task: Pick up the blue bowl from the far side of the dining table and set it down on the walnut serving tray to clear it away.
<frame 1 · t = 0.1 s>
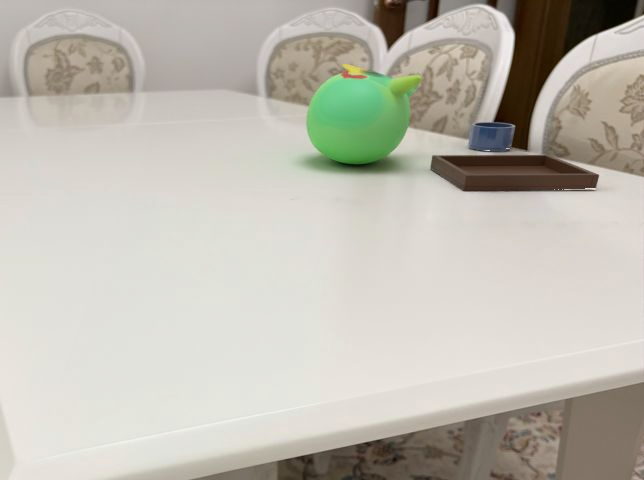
blue bowl: (488, 148, 120), on the table
serving tray: (507, 179, 98), on the table
toy bird: (356, 164, 110), on the table
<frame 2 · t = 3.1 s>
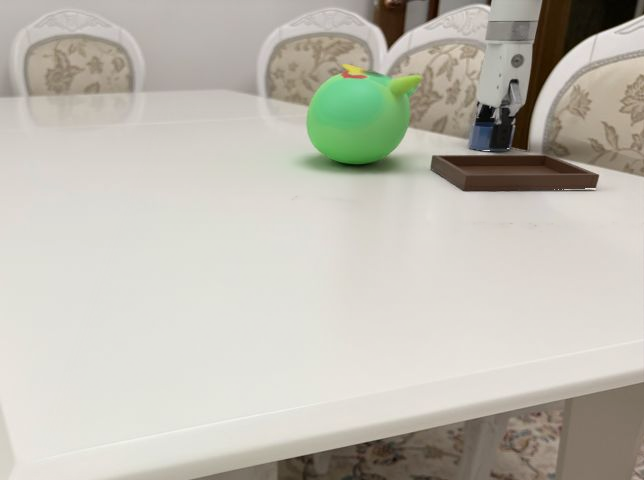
hand: (489, 143, 120), 1 cm above the table, tool pointing down, fingers closed on blue bowl, 7 cm apart
blue bowl: (488, 148, 120), on the table, touching gripper
everything else where it was.
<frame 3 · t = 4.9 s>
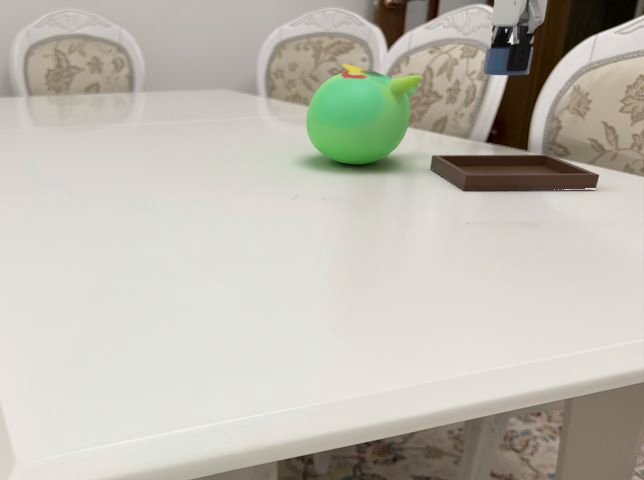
hand: (506, 68, 114), 13 cm above the table, tool pointing down, fingers closed on blue bowl, 7 cm apart
blue bowl: (505, 73, 115), point 12 cm above the table, touching gripper
everything else where it was.
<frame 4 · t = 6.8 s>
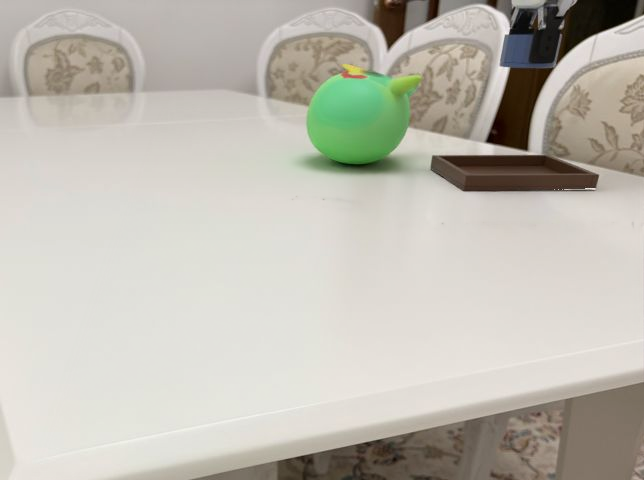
hand: (528, 60, 93), 16 cm above the table, tool pointing down, fingers closed on blue bowl, 7 cm apart
blue bowl: (526, 66, 94), point 15 cm above the table, touching gripper
everything else where it was.
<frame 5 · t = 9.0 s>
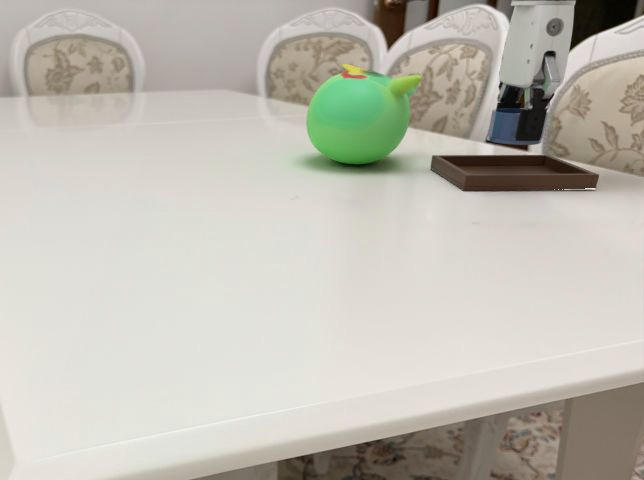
hand: (515, 135, 95), 6 cm above the table, tool pointing down, fingers closed on blue bowl, 7 cm apart
blue bowl: (513, 140, 96), point 5 cm above the table, touching gripper
everything else where it was.
when the fingers open (1 cm above the table, at t = 10.7 s): blue bowl stays where it is, resting on serving tray.
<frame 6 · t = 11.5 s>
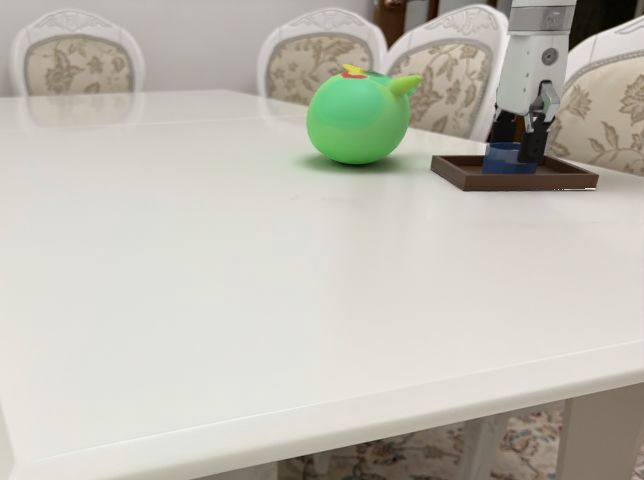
hand: (514, 155, 97), 3 cm above the table, tool pointing down, fingers open, 9 cm apart
blue bowl: (507, 174, 98), point 1 cm above the table, touching serving tray
everything else where it was.
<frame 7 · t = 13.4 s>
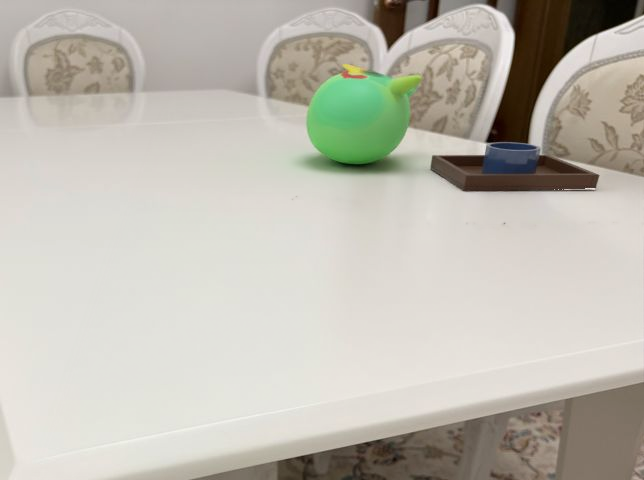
nothing on the table moved.
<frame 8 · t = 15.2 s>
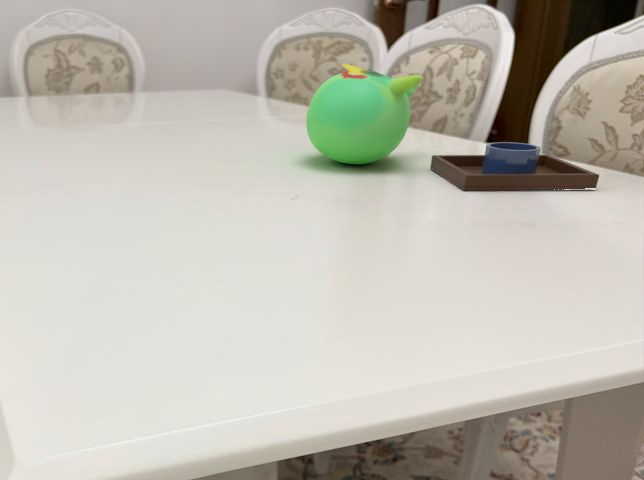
nothing on the table moved.
at the end: blue bowl inside the target area in the serving tray (0.1 cm from its centre), point 0.6 cm above the serving tray's base; blue bowl tilted 0°; the gripper is holding nothing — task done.
